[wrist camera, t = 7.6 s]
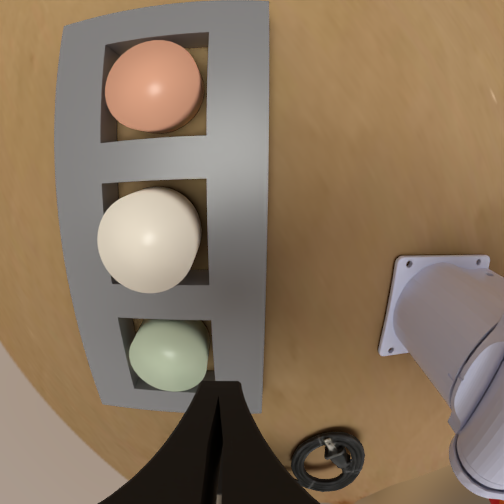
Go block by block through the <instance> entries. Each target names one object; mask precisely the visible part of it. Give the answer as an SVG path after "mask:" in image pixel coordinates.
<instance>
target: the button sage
mask: <svg viewBox="0 0 504 504" xmlns="http://www.w3.org/2000/svg"><path fill="white" fill-rule="evenodd" d="M209 347H210V336H209V333H208V330H207V328H206V326H205V325H204V323H203V322H202V321H201V320H168V319H144V320H143V322H142V324H141V326H140V328H139V330H138V332H137V334H136V336H135V338H134V340H133V342H132V344H131V346H130V350H129V358H130V362H131V365H132V367H133V369H134V371H135V372H136V373H137V375H138V376H139V377H140V378H141V379H142V380H144V381H145V382H146V383H148V384H149V385H151V386H153V387H155V388H158V389H161V390H165V391H172V392H178V391H185V390H188V389H191V388H193V387H195V386H196V385H198V384H199V383H200V382H201V381H202V380H203V378H204V376H205V374H206V370H207V363H208V355H209Z"/></svg>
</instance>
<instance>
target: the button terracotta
mask: <svg viewBox="0 0 504 504" xmlns="http://www.w3.org/2000/svg"><path fill="white" fill-rule="evenodd" d="M203 97H204V83H203V79H202V76H201V74H200V72H199V69H198V67H197V65H196V63H195V61H194V59H193V57H192V56H191V55H190V53H189V52H188V51H187V50H186V49H184V48H183V47H181V46H180V45H178V44H176V43H173V42H170V41H165V40H152V41H146V42H143V43H140V44H138V45H136V46H134V47H132V48H130V49H129V50H127V51H126V52H125V53H124V54H122V55H121V56H120V57H119V58H118V60H117V61H116V62H115V63H114V65H113V66H112V68H111V70H110V72H109V74H108V77H107V81H106V86H105V98H106V103H107V106H108V108H109V110H110V112H111V114H112V115H113V116H114V117H115V119H116V120H117V121H119V122H120V123H121V124H123V125H125V126H127V127H129V128H132V129H136V130H140V131H145V132H149V133H155V134H162V133H168V132H172V131H175V130H177V129H179V128H181V127H183V126H184V125H186V124H187V123H188V122H189V121H190V120H191V119H192V118H193V117H194V116H195V115H196V113H197V112H198V110H199V108H200V106H201V104H202V101H203Z"/></svg>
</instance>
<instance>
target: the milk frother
mask: <svg viewBox="0 0 504 504" xmlns="http://www.w3.org/2000/svg"><path fill="white" fill-rule="evenodd" d="M323 445H325V455H324V456H325V459H327V460H329V459H330V460H331V461H332V462H333V463H334V464H335V465H337V467H338V468H341V469H342V472H343V473H342V474H340V475H339V476H338V477H336V478H332V479H318V478H316V477H313V476H311V475H309V474H308V473H307V472H306V470H305V468H304V461H305V459H306V457H307V456H308V454H309V453H310V452H312V451H313V450H314V449H316V448H318V447H320V446H323ZM345 447H346V448H347V449H348V450H349V451H350V453H351V457H352V459H350V455H349V454H347V452H346V449H345ZM364 457H365V454H364V449H363V446H362V444H361V443H360V441H359V440H358V439H357V438H356V437H354V436H353V435H351V434H348V433H345V432H328V433H323V434H320V435H317V436H314V437H312V438H310V439H308V440H306V441H305V442H303V443H302V444H301V445H300V446H298V448H297V449H296V451H295V452H294V455H293V458H292V463H291V467H292V471H293V473H294V475H295V477H296V478H297V479H298V480H297V479H295V480H296V481H297V482H298V483H299V484H300V485H301V486H303V487H305V488H308V489H312V490H316V491H321V492H324V491H335V490H339V489H342V488H344V487H346V486H347V485H349V484H350V483H352V482H353V481H354V479H355V478H356V477H357V476H358V474H359V473H360V471H361V470H362V466H363V463H364ZM222 476H223V447H222V456H221V464H220V473H219V481H218V490H217V502H216V504H221V500H222Z"/></svg>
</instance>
